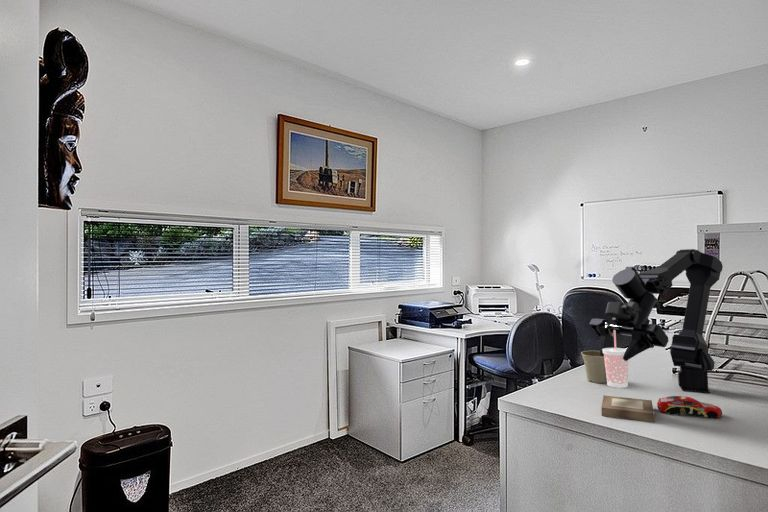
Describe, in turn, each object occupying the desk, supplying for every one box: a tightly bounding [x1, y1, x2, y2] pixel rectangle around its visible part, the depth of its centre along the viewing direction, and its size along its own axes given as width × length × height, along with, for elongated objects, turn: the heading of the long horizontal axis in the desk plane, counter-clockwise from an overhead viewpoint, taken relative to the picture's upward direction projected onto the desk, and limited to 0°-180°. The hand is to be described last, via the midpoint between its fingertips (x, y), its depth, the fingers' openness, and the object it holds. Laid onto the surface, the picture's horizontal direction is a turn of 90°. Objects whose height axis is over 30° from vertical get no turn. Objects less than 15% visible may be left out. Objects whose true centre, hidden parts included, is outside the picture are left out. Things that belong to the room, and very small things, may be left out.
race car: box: [656, 395, 723, 420], centre depth 109 cm, size 13×5×4 cm, turn 63°
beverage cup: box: [602, 330, 629, 389], centre depth 113 cm, size 6×6×14 cm
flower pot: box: [580, 350, 607, 384], centre depth 140 cm, size 9×9×9 cm
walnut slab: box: [601, 395, 655, 423], centre depth 111 cm, size 11×11×2 cm
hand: (612, 357), depth 113 cm, fingers closed on beverage cup, 6 cm apart
